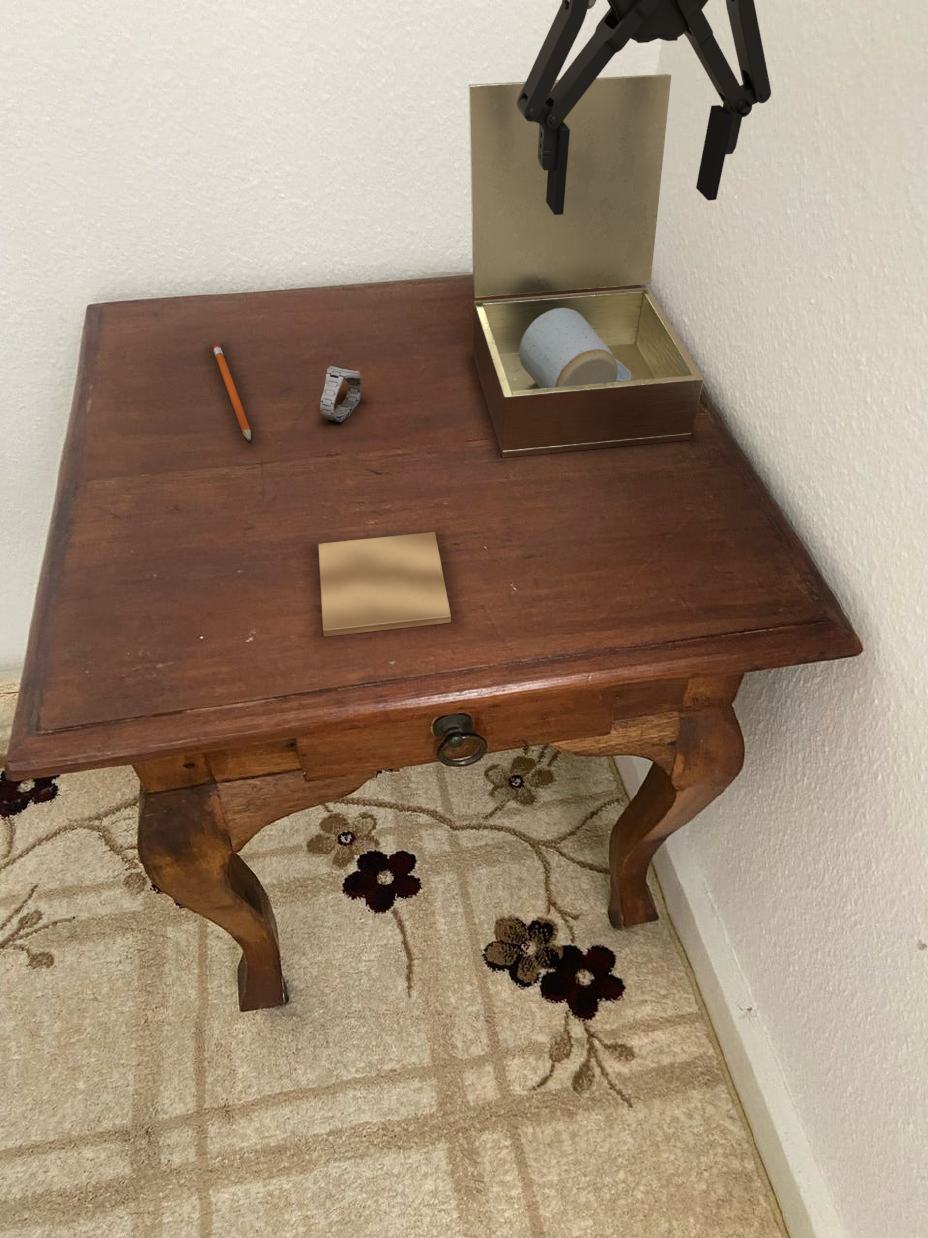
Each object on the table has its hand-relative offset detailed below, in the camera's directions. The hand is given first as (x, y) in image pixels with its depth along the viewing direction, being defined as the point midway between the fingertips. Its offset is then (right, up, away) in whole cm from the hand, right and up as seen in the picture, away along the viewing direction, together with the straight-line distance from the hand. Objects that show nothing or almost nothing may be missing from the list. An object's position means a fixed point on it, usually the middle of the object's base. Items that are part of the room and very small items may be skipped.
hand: (631, 201), depth 74 cm
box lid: (-4, +5, +10) cm, 12 cm away
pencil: (-38, -13, +16) cm, 43 cm away
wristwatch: (-27, -15, +14) cm, 34 cm away
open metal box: (-3, -13, +15) cm, 20 cm away
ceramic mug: (-3, -13, +15) cm, 20 cm away
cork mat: (-21, -33, -3) cm, 39 cm away
